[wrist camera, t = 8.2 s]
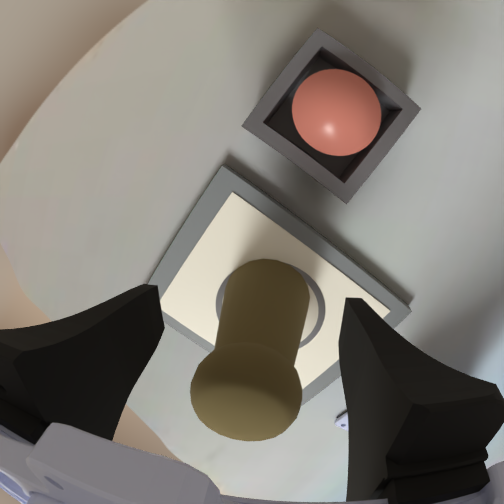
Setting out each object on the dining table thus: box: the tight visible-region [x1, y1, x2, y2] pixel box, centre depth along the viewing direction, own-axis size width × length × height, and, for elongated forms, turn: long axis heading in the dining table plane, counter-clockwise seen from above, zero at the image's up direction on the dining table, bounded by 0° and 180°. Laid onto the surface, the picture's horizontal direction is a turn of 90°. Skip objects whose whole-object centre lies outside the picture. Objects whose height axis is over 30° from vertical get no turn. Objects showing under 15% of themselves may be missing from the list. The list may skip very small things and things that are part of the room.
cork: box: [190, 259, 310, 441], centre depth 17 cm, size 6×6×11 cm
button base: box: [242, 28, 421, 204], centre depth 17 cm, size 7×7×4 cm
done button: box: [292, 69, 381, 156], centre depth 15 cm, size 4×4×2 cm
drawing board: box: [148, 165, 412, 406], centre depth 23 cm, size 17×13×1 cm
